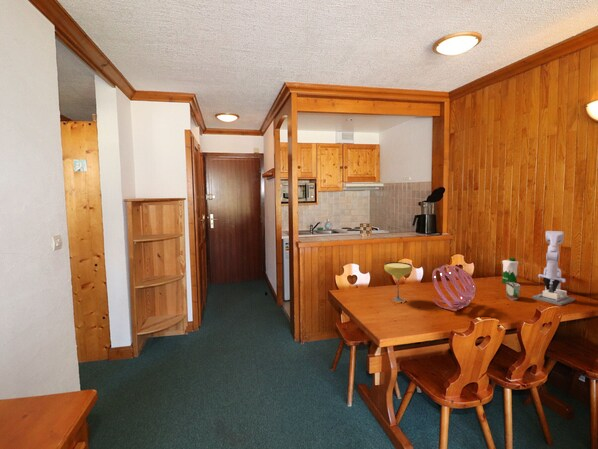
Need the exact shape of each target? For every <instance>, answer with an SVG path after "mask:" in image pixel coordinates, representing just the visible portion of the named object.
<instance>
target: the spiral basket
mask: <svg viewBox="0 0 598 449" xmlns="http://www.w3.org/2000/svg"><path fill="white" fill-rule="evenodd" d="M445 268H446V269H448V271H447V270H446V269H445ZM457 270H458V271H457ZM437 271H439V275H440V276H439V277H440V280H441V282H442V285H443V287H444V289H445V290H446V292H447V293H448V295H449V296H450V297H451V298H452V300H453V301H450V300H449V299H448V298H447V297H446V295H445V294H444V292H443V291H442V289H441V287H440V286H439V283H438V280H437V274H436V272H437ZM431 274H432V276H431V278H432V283H433V285H434V287H435V289H436V292H437V293H438V295H439V296H440V298H441V299H439V298H437V297H434V299H433V298H432V301H433V302H434V304H435V305H436V306H438V307H439V308H441V309H443V308H444V309H445V310H454V311H459V310H461V309H463V308H464V307H468V306H469V305H471V304H470V303H471V301H472V300H473V299H474V297H475V293H476V284H475V281H474V279H473V278H472V276H471V274H470V273H469V272H467V270H465V269H463V268H460V267H459V266H457V265H448V264H447V265H442V266H440V267H437V268H435V269H434V270H433V271H432V273H431ZM456 277H457V278H456ZM447 279H448V280H449V281H450V282H451V284H452V285H453V287H454V288H455V291H456V293H457V295H458V296H457V295H456V294H455V293H454V291H453V290H452V289H451V287H450V285H449V283H448V281H447ZM457 279H458V280H459V281H460V283H461V285H462V286H463V288H464V290H463V288H462V287H461V286H460V283H459V282H458V280H457ZM436 300H437V301H439V302H441V303H444V304H446V305H447V306H449V307H445V306H443V305H440V304H439V303H438V302H437V301H436Z"/></svg>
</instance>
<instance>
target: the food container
mask: <svg viewBox="0 0 598 449" xmlns="http://www.w3.org/2000/svg"><path fill="white" fill-rule="evenodd" d="M505 289H506V292H505V293H506V294H505V295H506V297H507V298H508V299H509V300H511V301H513V302H514V301H518V300H519V298H520V290H521V289H522V288H521V284H519V283H518V282H517V283H513V282H506V283H505Z"/></svg>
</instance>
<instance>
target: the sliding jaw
mask: <svg viewBox="0 0 598 449" xmlns="http://www.w3.org/2000/svg"><path fill="white" fill-rule="evenodd" d="M542 291H543V292H542V293H543V296H544V297H548V298H552V299H556V300H557V299H560V293H557V292H554V291H553V284H549V290H545V289H544V290H542Z"/></svg>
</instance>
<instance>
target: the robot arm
mask: <svg viewBox="0 0 598 449" xmlns="http://www.w3.org/2000/svg"><path fill="white" fill-rule="evenodd" d="M564 234H565V233H564V230H563V231H562V230H561V231H558V230H557V231H556V230H546V231H545V241H546V243H548V244H549V245H548V246H547V252H546V255H545V257H546V266H545V267H544V268H543V274H540V273H539V274H538V275H537V276H538V277H537V278H541V279H542V282H543V283H544V285H545V286H544V287H545V289H544V290H549V284H553V291H556V289H559V290H561V285H562V283H566V282H567V281H566V279H567V278H562V269H561V268H559V261H560V246H559V245H560V244H563V242H564V238H565V237H564ZM544 290H542V293H543V291H544Z"/></svg>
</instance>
